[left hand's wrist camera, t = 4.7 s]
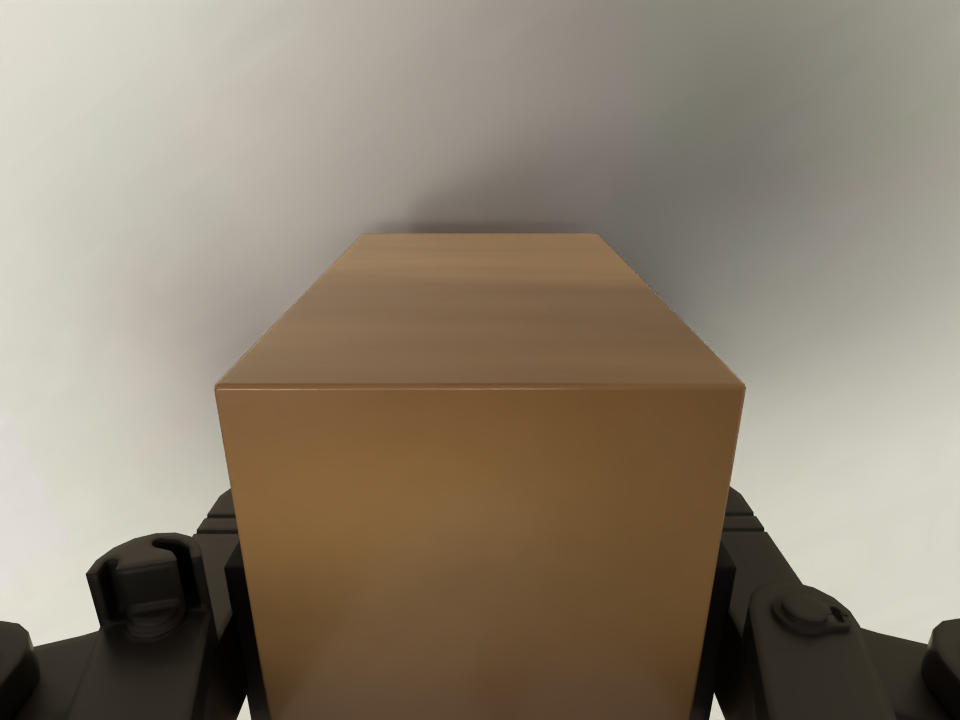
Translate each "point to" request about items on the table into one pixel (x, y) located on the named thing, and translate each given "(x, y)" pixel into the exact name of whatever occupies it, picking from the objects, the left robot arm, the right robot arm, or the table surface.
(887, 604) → the table surface
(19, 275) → the table surface
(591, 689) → the bar
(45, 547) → the table surface
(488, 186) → the table surface
